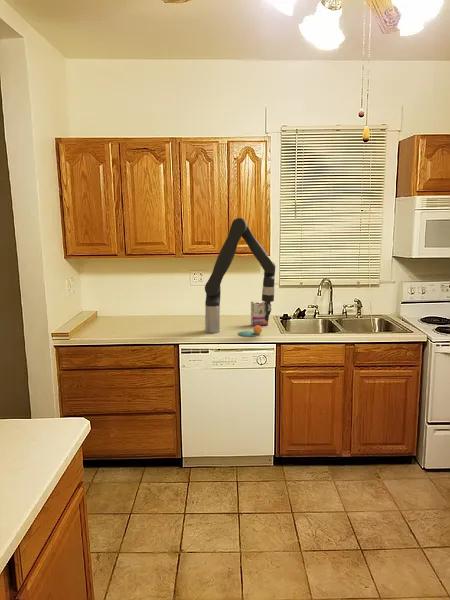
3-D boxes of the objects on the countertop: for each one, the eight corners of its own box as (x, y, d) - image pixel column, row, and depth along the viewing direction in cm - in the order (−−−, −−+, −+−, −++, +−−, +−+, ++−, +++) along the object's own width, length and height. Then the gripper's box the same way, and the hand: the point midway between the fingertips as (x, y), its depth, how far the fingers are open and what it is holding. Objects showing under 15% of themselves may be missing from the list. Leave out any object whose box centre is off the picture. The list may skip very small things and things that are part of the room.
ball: (263, 327, 280) (261, 335, 281) (262, 325, 285) (259, 334, 286) (255, 325, 279) (253, 333, 280) (253, 323, 285) (251, 331, 285)
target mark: (239, 337, 276) (239, 336, 275) (236, 331, 288) (236, 331, 288) (260, 336, 277) (260, 336, 277) (256, 331, 290) (256, 330, 290)
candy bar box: (265, 323, 309) (266, 300, 306) (268, 325, 304) (268, 302, 301) (250, 324, 306) (250, 301, 303) (252, 326, 301) (253, 302, 298)
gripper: (260, 291, 285) (258, 317, 288) (264, 295, 272) (262, 323, 275) (271, 291, 286) (270, 318, 289) (276, 295, 273) (274, 323, 276)
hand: (266, 320), depth 282 cm, fingers closed
